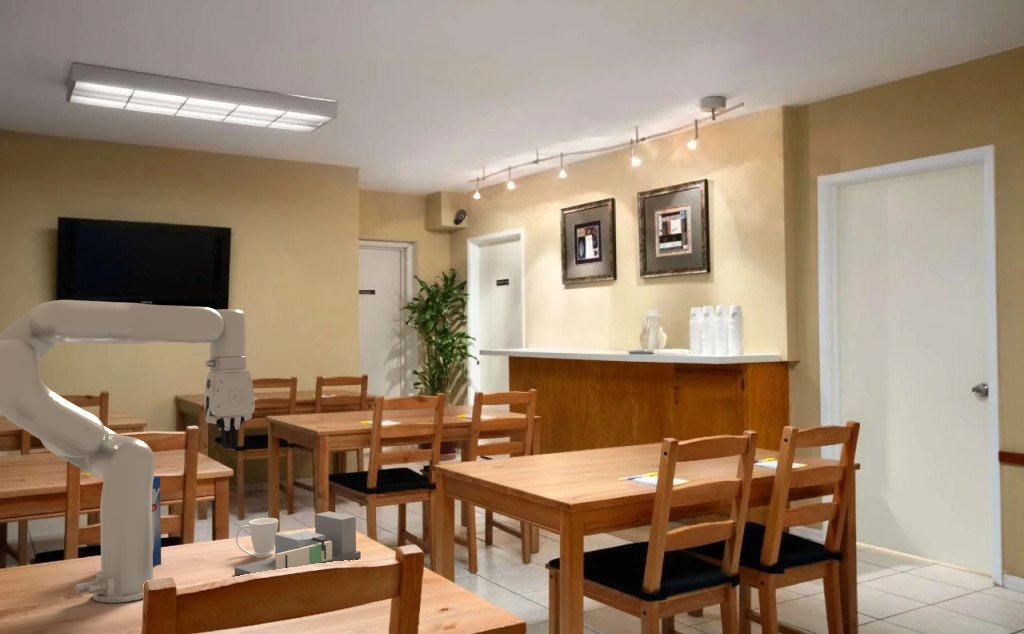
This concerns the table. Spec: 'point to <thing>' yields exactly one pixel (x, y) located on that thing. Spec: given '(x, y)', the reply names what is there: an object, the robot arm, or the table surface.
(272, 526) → the cup
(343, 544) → the frame
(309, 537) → the grey block
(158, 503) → the milk carton
